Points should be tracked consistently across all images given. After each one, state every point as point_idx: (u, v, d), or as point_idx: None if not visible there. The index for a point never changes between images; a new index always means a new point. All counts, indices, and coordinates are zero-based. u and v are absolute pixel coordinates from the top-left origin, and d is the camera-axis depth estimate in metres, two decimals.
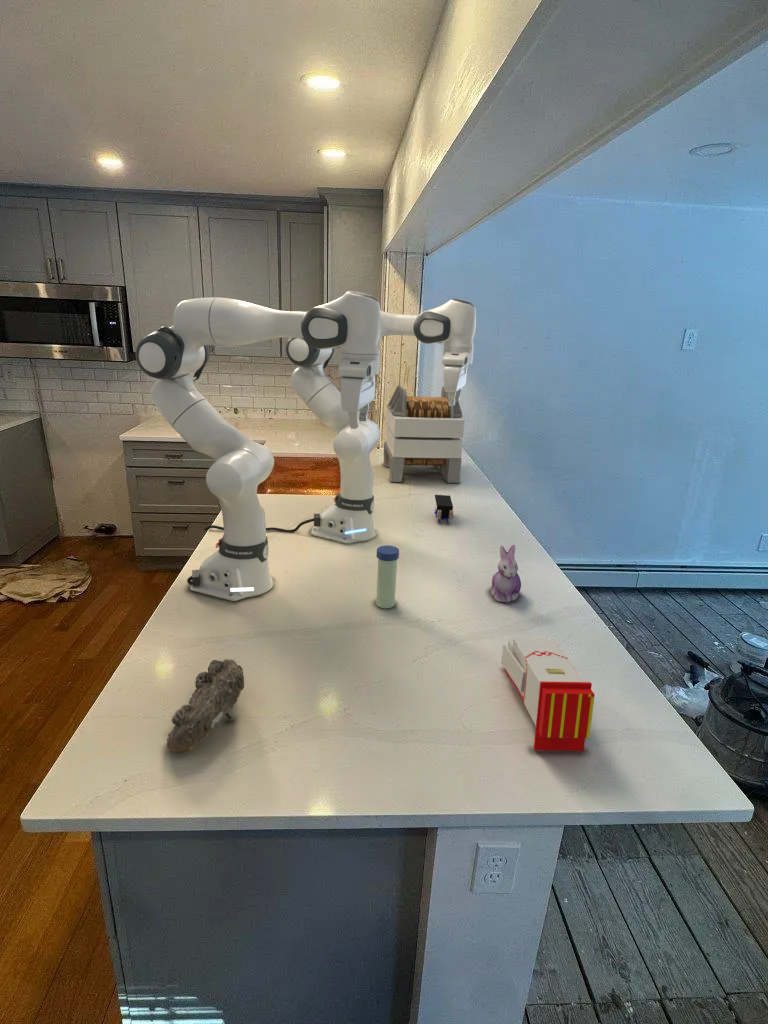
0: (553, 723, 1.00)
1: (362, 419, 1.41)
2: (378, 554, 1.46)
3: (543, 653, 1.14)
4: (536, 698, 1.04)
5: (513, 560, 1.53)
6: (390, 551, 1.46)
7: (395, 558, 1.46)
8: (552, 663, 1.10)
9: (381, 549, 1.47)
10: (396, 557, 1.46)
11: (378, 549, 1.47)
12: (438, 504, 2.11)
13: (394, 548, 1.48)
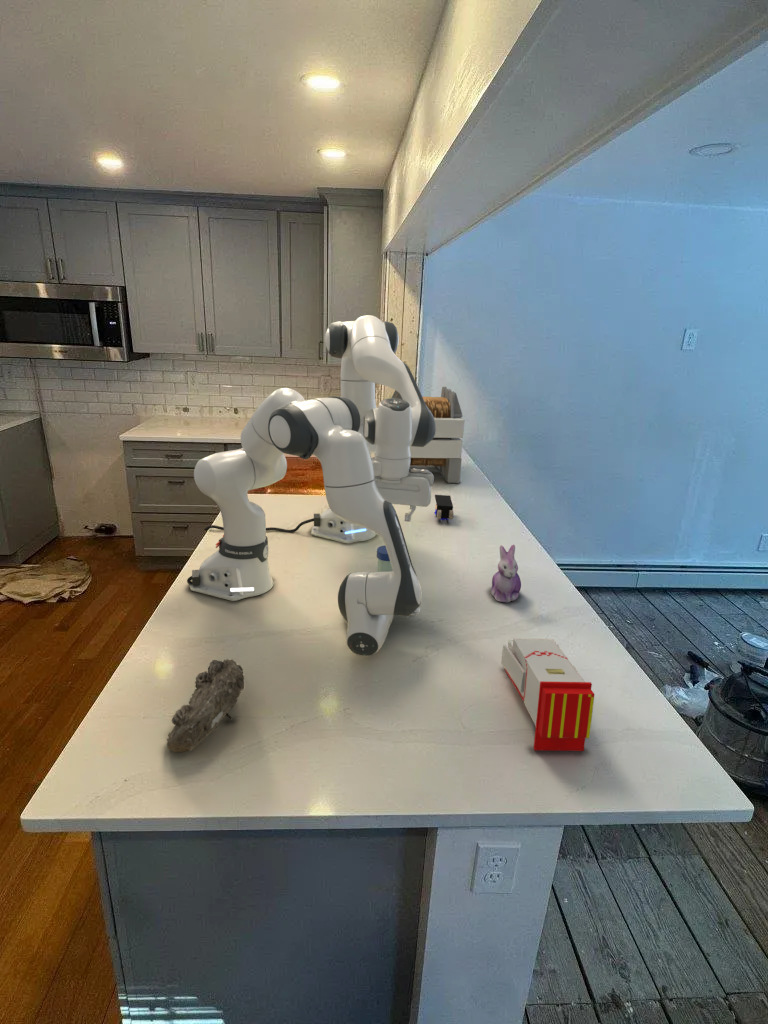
0: (553, 723, 1.00)
1: None
2: (378, 554, 1.46)
3: (543, 653, 1.14)
4: (536, 698, 1.04)
5: (513, 560, 1.53)
6: None
7: None
8: (552, 663, 1.10)
9: (381, 549, 1.47)
10: None
11: (378, 549, 1.47)
12: (438, 504, 2.11)
13: None
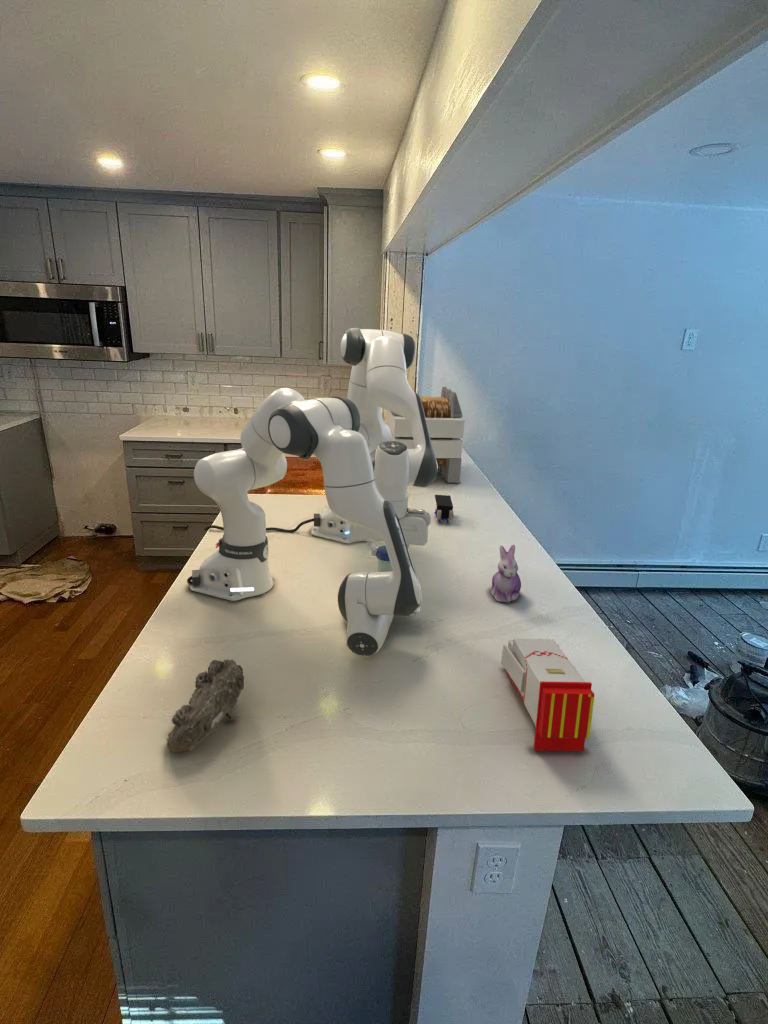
0: (553, 723, 1.00)
1: None
2: (378, 554, 1.46)
3: (543, 653, 1.14)
4: (536, 698, 1.04)
5: (513, 560, 1.53)
6: None
7: None
8: (552, 663, 1.10)
9: (381, 549, 1.47)
10: None
11: (378, 549, 1.47)
12: (438, 504, 2.11)
13: None
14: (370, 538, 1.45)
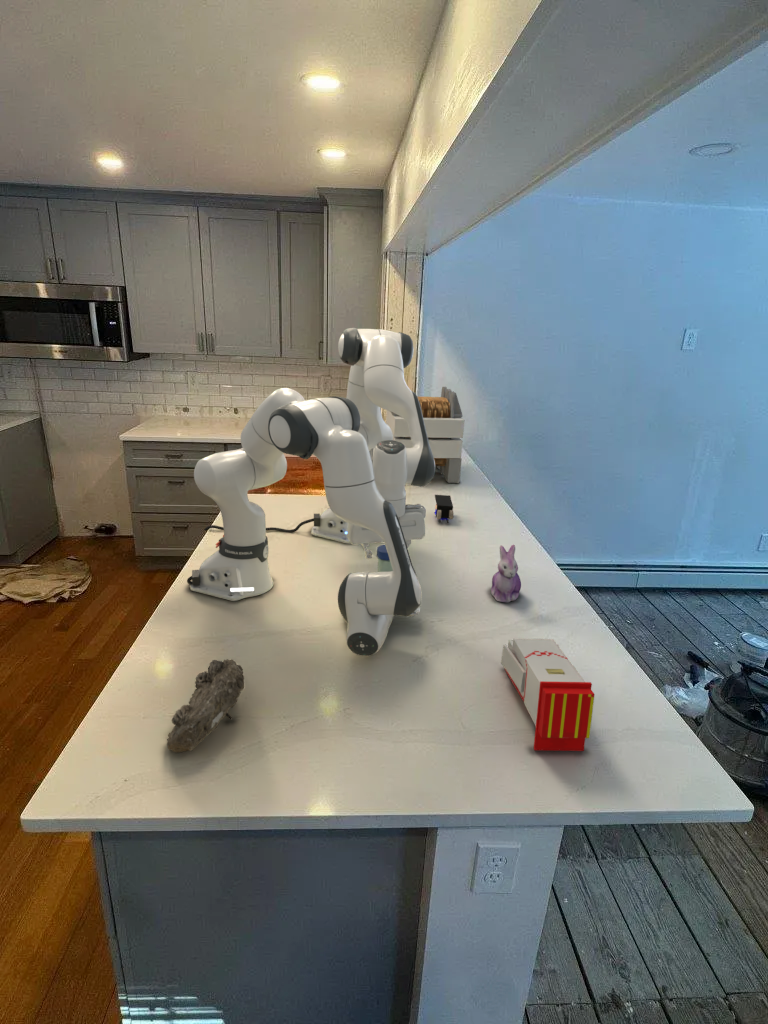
0: (553, 723, 1.00)
1: None
2: None
3: (543, 653, 1.14)
4: (536, 698, 1.04)
5: (513, 560, 1.53)
6: None
7: None
8: (552, 663, 1.10)
9: (386, 551, 1.45)
10: None
11: (385, 552, 1.45)
12: (438, 504, 2.11)
13: None
14: (371, 540, 1.43)
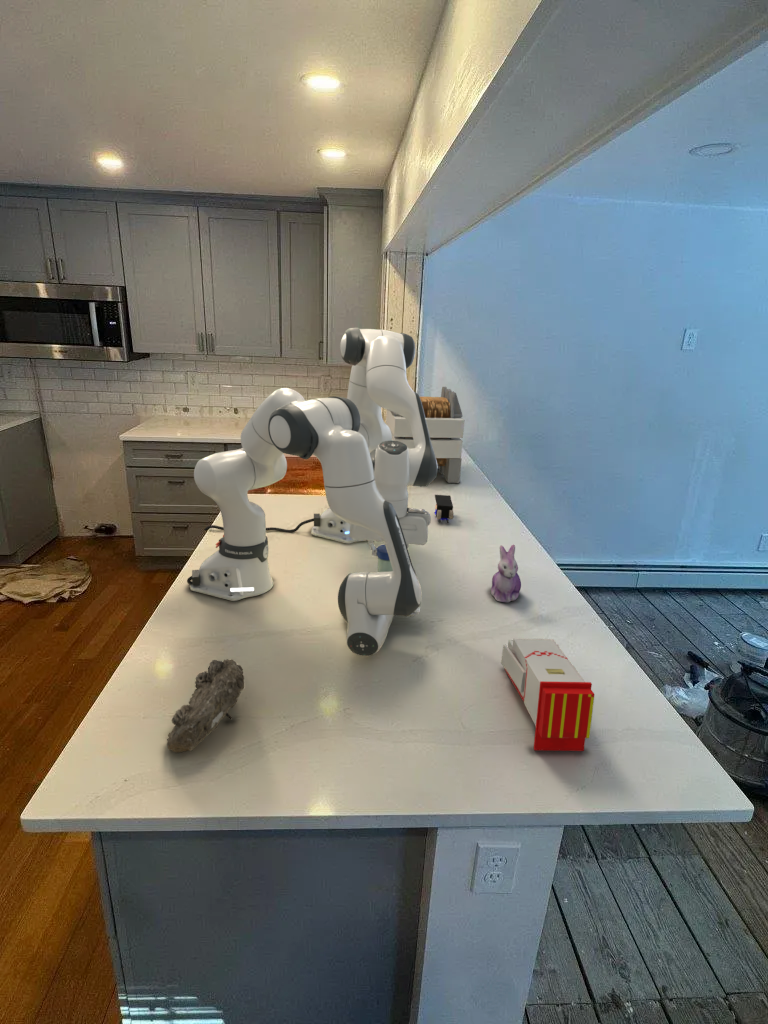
0: (553, 723, 1.00)
1: None
2: None
3: (543, 653, 1.14)
4: (536, 698, 1.04)
5: (513, 560, 1.53)
6: None
7: None
8: (552, 663, 1.10)
9: (386, 551, 1.45)
10: None
11: (385, 552, 1.45)
12: (438, 504, 2.11)
13: None
14: (370, 538, 1.45)
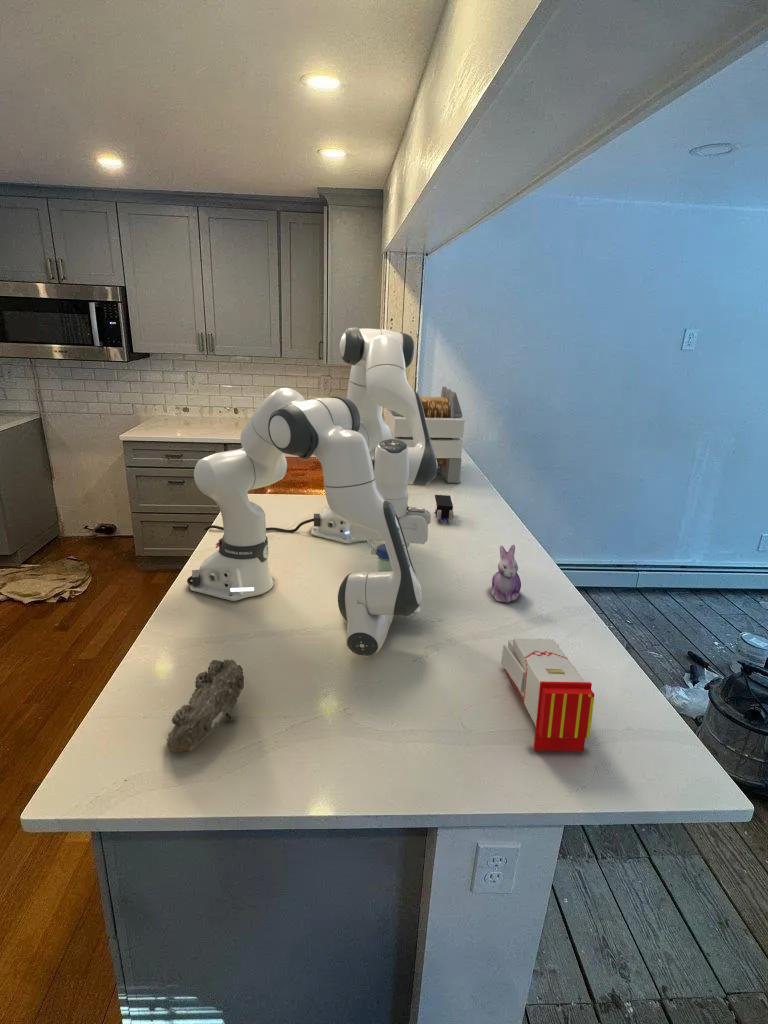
0: (553, 723, 1.00)
1: None
2: None
3: (543, 653, 1.14)
4: (536, 698, 1.04)
5: (513, 560, 1.53)
6: None
7: None
8: (552, 663, 1.10)
9: None
10: None
11: None
12: (438, 504, 2.11)
13: (380, 547, 1.47)
14: (370, 536, 1.44)
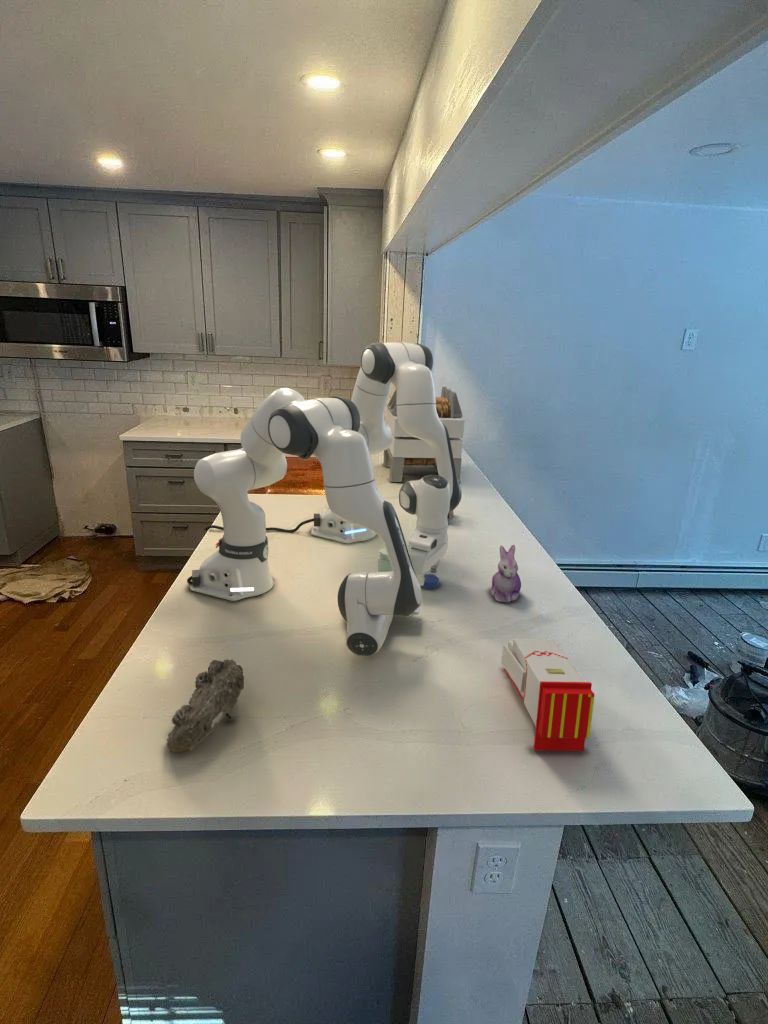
0: (553, 723, 1.00)
1: None
2: None
3: (543, 653, 1.14)
4: (536, 698, 1.04)
5: (513, 560, 1.53)
6: (425, 577, 1.64)
7: None
8: (552, 663, 1.10)
9: (433, 577, 1.64)
10: None
11: (435, 576, 1.65)
12: None
13: (425, 580, 1.62)
14: (429, 567, 1.57)
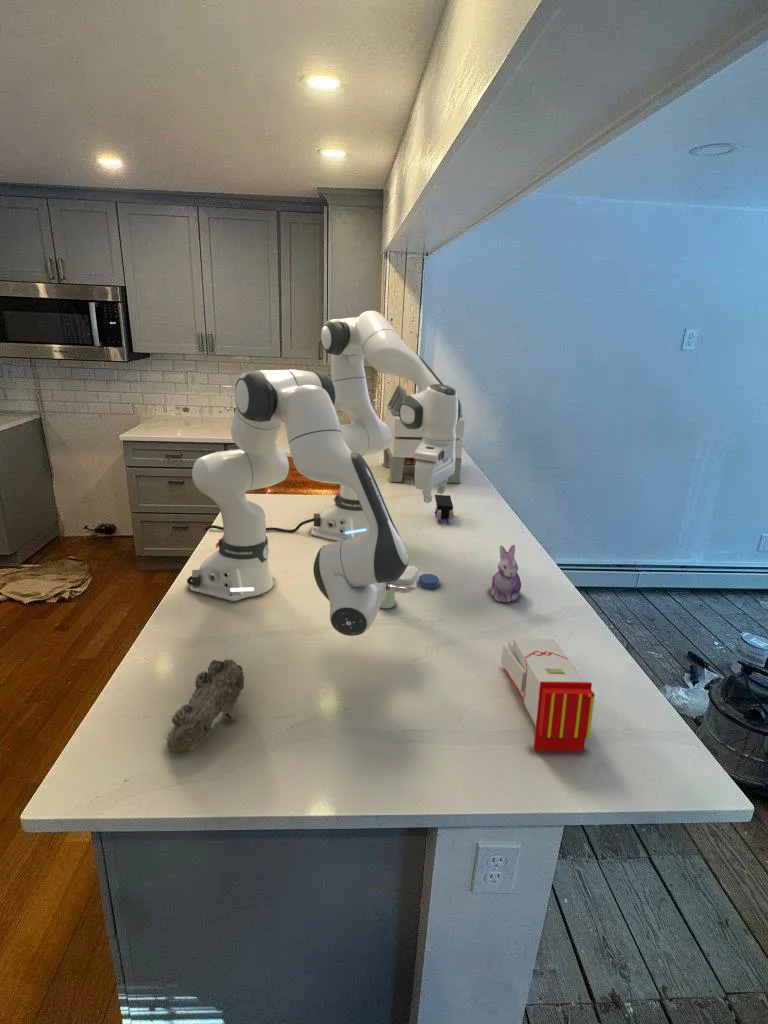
0: (553, 723, 1.00)
1: None
2: None
3: (543, 653, 1.14)
4: (536, 698, 1.04)
5: (513, 560, 1.53)
6: (425, 577, 1.64)
7: None
8: (552, 663, 1.10)
9: (433, 577, 1.64)
10: None
11: (435, 576, 1.65)
12: (438, 504, 2.11)
13: (425, 580, 1.62)
14: (435, 483, 1.48)
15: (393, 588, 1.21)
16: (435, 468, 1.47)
